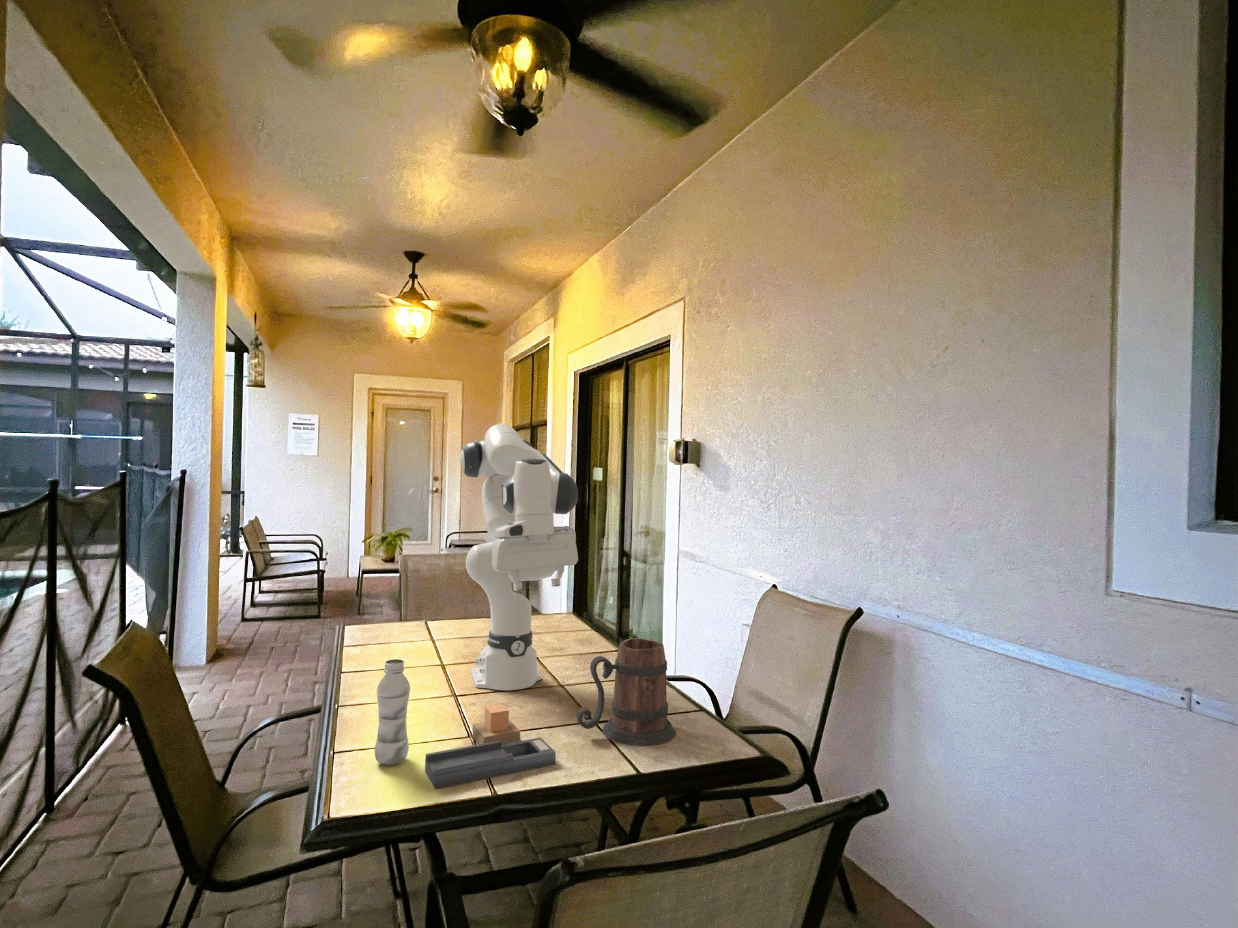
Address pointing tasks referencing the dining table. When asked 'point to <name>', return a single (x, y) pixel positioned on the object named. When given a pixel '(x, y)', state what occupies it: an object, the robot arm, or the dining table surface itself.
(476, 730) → the brown square plate
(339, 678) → the dining table surface
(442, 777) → the grey slotted tray
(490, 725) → the peach foam cube
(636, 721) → the tankard
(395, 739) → the plastic bottle
